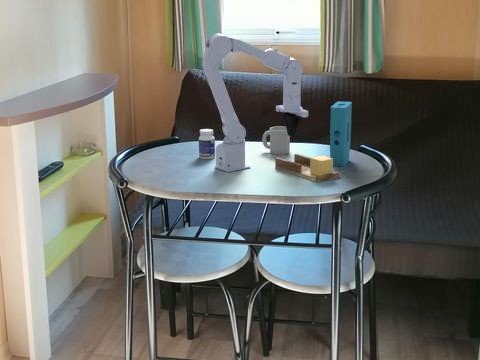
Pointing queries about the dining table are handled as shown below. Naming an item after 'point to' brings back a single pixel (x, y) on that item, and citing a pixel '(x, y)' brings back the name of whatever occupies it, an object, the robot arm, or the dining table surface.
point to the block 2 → (340, 133)
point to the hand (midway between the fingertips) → (291, 135)
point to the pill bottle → (206, 144)
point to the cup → (277, 140)
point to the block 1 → (321, 165)
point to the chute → (302, 168)
